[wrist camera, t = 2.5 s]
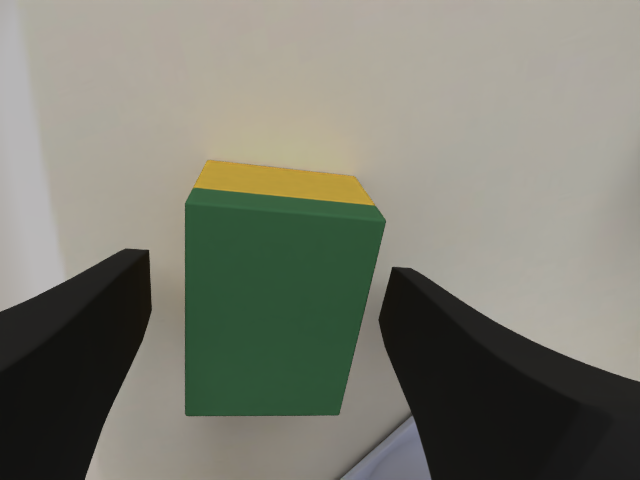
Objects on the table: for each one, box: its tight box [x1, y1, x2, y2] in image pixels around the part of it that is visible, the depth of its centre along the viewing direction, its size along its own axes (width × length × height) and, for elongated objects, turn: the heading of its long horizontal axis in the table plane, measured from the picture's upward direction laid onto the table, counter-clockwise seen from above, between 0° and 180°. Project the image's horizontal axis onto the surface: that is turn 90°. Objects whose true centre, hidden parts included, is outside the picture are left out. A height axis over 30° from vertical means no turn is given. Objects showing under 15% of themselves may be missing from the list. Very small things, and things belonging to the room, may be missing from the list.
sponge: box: [185, 160, 386, 416], centre depth 11 cm, size 4×6×4 cm
